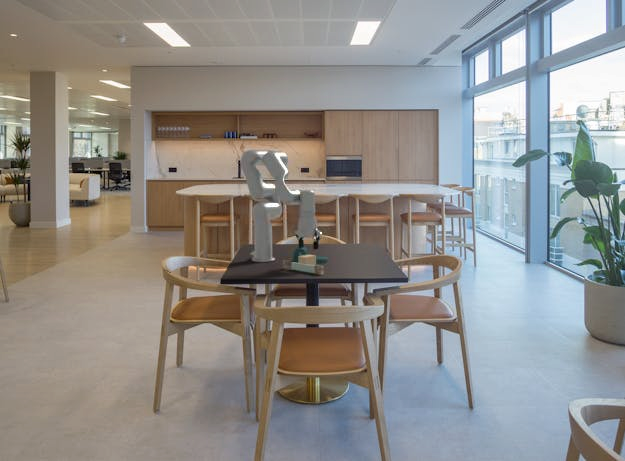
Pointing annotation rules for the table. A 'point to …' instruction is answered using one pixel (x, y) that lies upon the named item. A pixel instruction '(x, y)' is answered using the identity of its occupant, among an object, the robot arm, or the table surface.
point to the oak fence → (318, 269)
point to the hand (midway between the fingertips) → (308, 248)
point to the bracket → (305, 252)
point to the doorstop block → (307, 259)
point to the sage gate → (303, 267)
